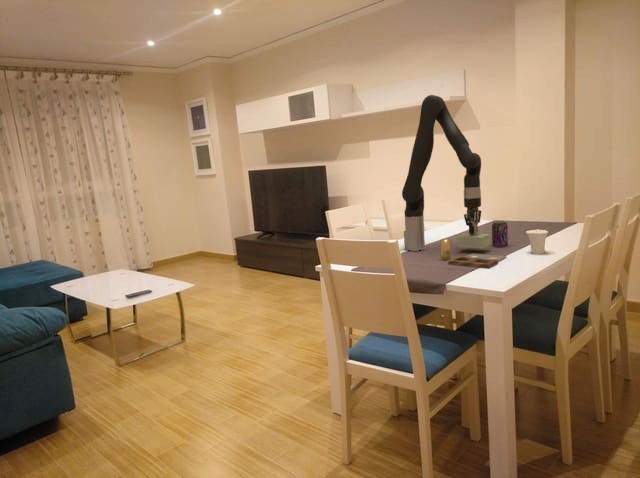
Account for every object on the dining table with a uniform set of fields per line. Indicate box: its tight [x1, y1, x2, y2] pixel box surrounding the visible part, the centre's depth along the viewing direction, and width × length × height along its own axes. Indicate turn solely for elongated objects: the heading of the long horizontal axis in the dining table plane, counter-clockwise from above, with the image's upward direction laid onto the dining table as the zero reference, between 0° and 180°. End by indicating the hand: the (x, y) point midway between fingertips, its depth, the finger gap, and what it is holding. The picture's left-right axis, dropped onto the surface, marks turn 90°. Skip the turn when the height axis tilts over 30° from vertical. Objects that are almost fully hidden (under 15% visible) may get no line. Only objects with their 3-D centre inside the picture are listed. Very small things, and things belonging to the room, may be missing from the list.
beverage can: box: [491, 220, 509, 248], centre depth 224 cm, size 7×7×12 cm
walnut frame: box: [447, 255, 499, 269], centre depth 195 cm, size 18×9×2 cm, turn 47°
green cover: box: [456, 222, 491, 249], centre depth 216 cm, size 12×9×11 cm
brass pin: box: [440, 238, 452, 261], centre depth 206 cm, size 4×4×9 cm
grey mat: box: [464, 252, 508, 263], centre depth 203 cm, size 16×11×1 cm
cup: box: [525, 228, 549, 255], centre depth 205 cm, size 9×9×10 cm
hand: (473, 233), depth 216 cm, fingers closed on green cover, 3 cm apart
